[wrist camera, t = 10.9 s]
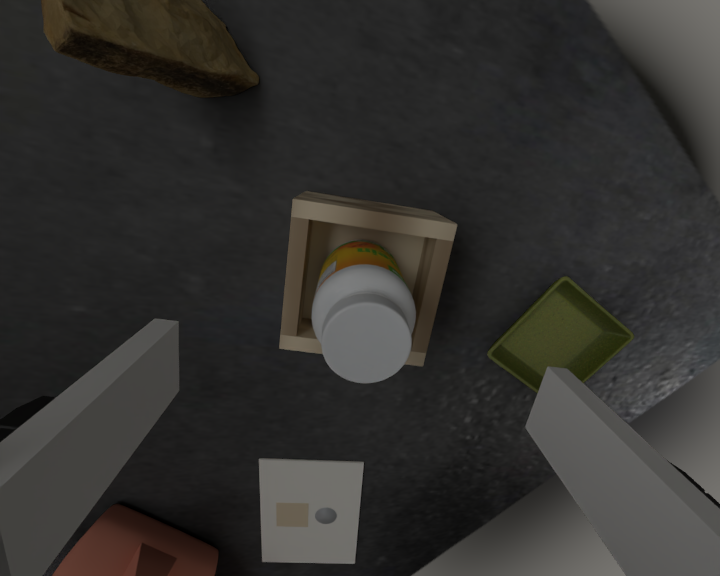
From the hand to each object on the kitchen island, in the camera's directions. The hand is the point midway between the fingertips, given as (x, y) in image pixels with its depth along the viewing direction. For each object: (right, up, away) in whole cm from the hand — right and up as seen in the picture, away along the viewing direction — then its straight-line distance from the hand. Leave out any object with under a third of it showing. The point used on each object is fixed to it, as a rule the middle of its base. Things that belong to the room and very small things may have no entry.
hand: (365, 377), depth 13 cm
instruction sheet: (-5, -20, +24) cm, 31 cm away
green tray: (+16, -1, +18) cm, 24 cm away
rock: (-12, +20, +10) cm, 26 cm away
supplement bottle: (0, +4, +12) cm, 13 cm away
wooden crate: (0, +5, +15) cm, 16 cm away
